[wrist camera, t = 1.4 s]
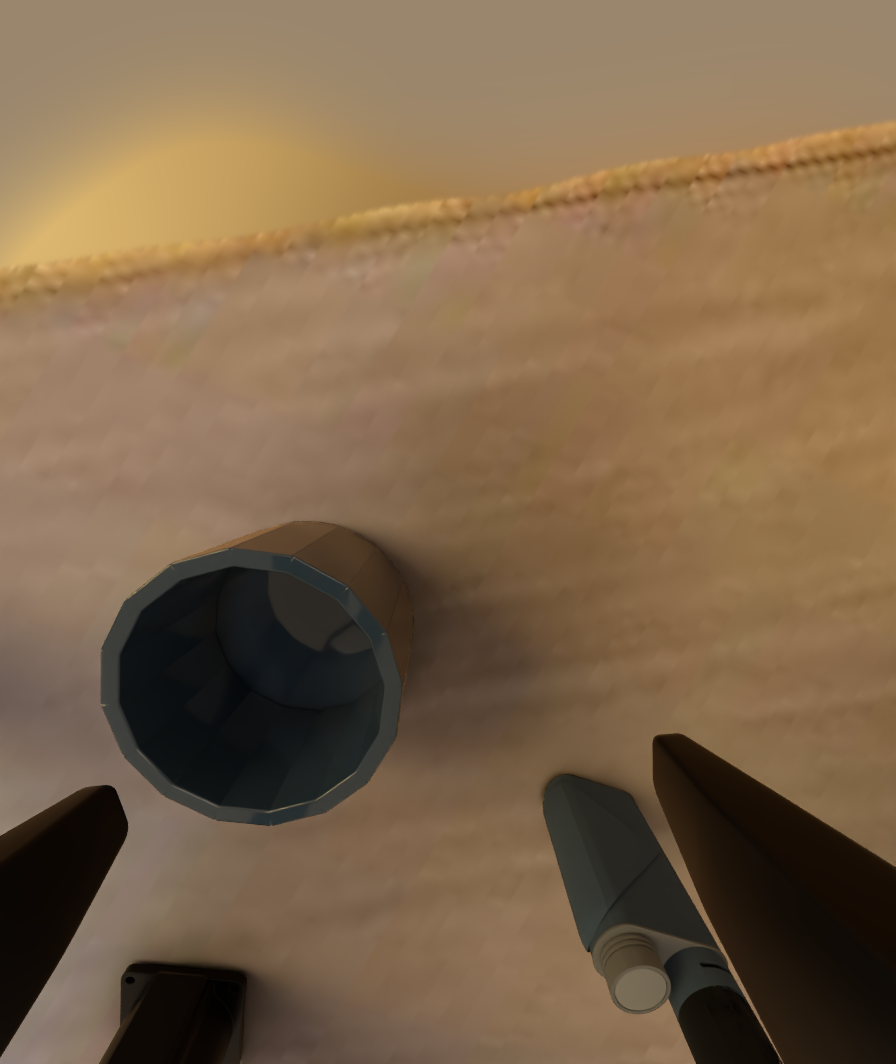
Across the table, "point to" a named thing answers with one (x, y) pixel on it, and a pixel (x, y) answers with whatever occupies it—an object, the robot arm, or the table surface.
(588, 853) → the vaping device
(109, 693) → the pen pot
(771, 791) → the robot arm
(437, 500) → the table surface
